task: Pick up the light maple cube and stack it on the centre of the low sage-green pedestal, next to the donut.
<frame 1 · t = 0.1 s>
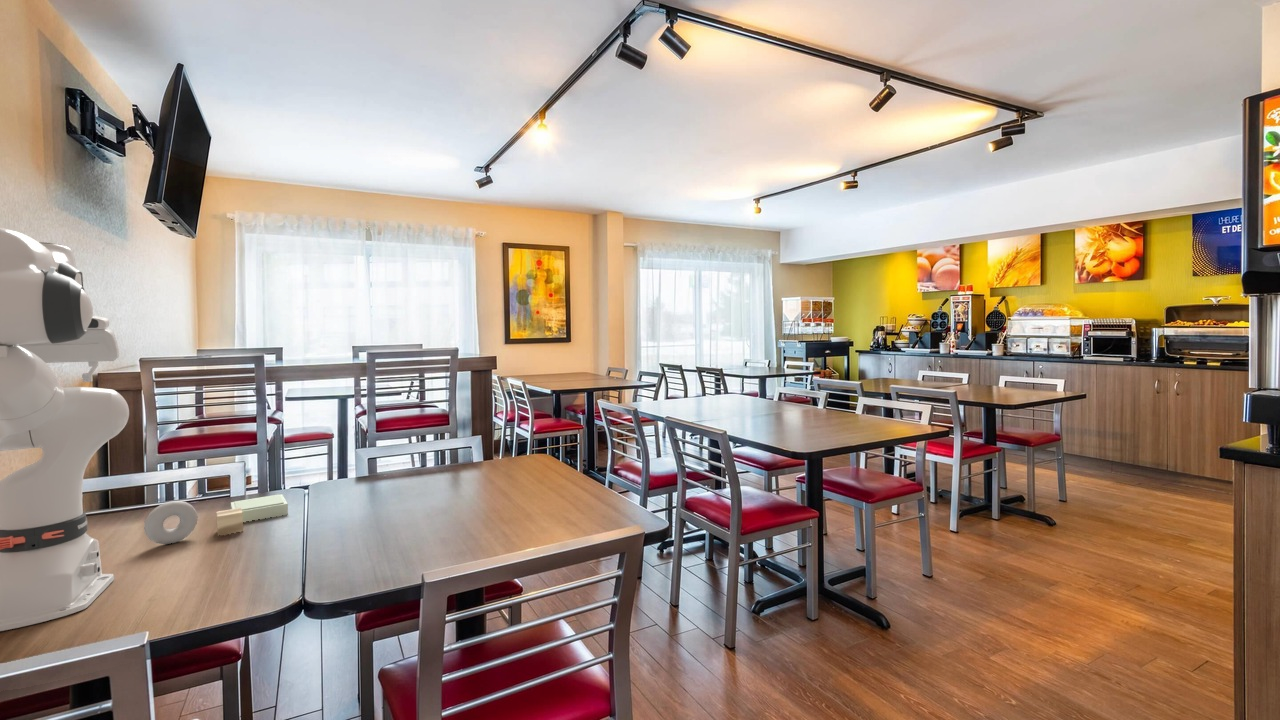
hand: (57, 383, 122), 39 cm above the table, tool pointing down, fingers open, 8 cm apart
pedestal: (259, 513, 153), on the table
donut: (172, 544, 132), on the table
maple cube: (230, 531, 139), on the table
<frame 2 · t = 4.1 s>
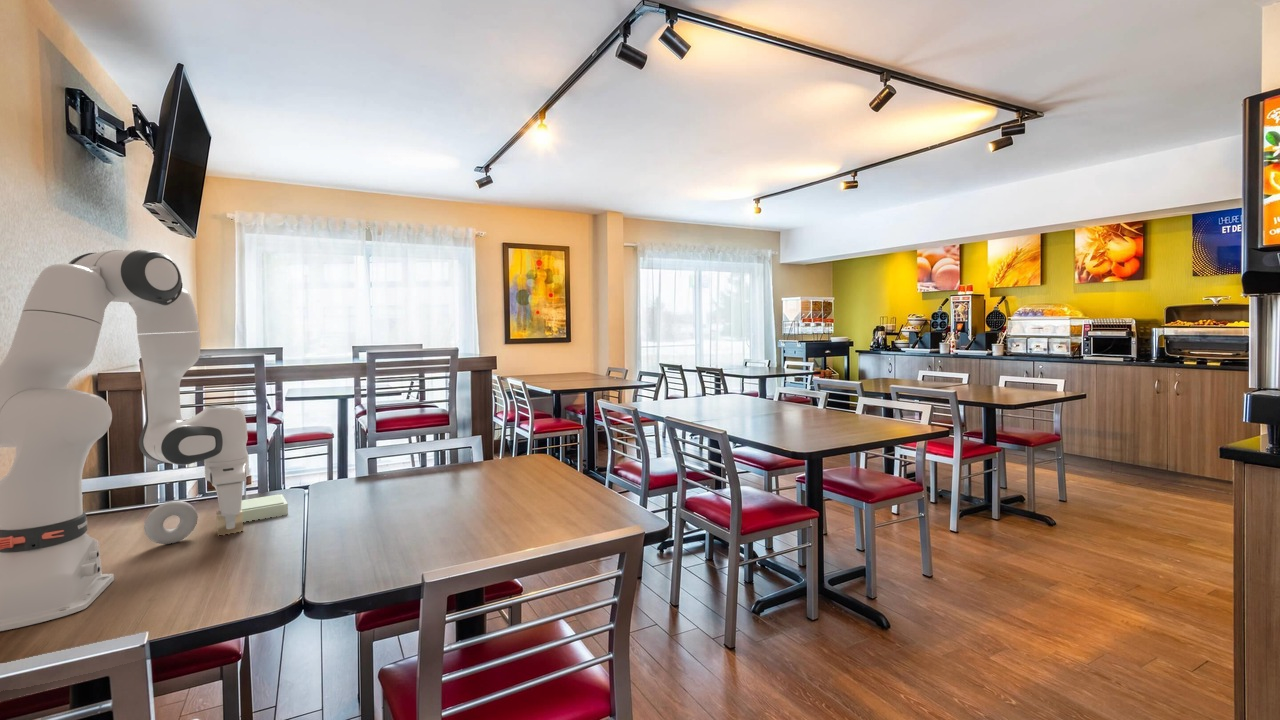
hand: (229, 524, 139), 2 cm above the table, tool pointing down, fingers closed on maple cube, 5 cm apart
maple cube: (230, 531, 139), on the table, touching gripper
everything else where it was.
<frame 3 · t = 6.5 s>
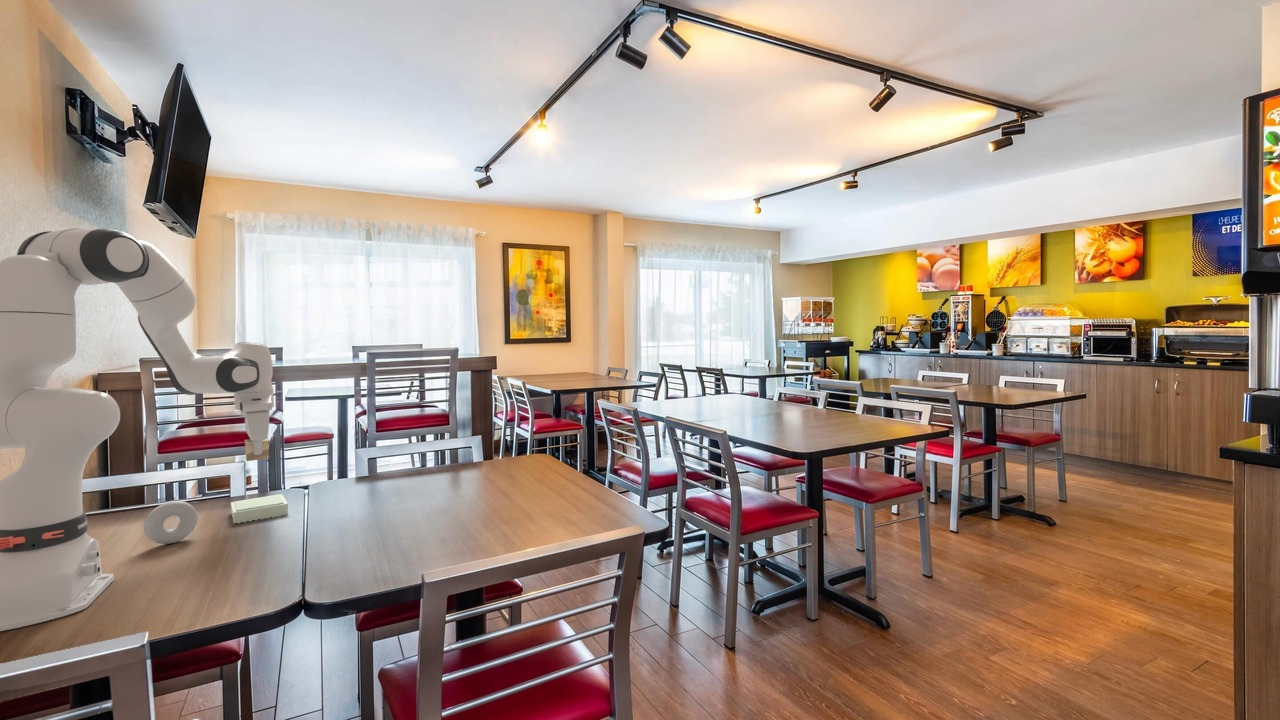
hand: (256, 452, 152), 17 cm above the table, tool pointing down, fingers closed on maple cube, 5 cm apart
maple cube: (257, 458, 153), point 15 cm above the table, touching gripper
everything else where it was.
when the fingers open (6 cm above the table, at t = 8.8 s): maple cube drops 1 cm, resting on pedestal.
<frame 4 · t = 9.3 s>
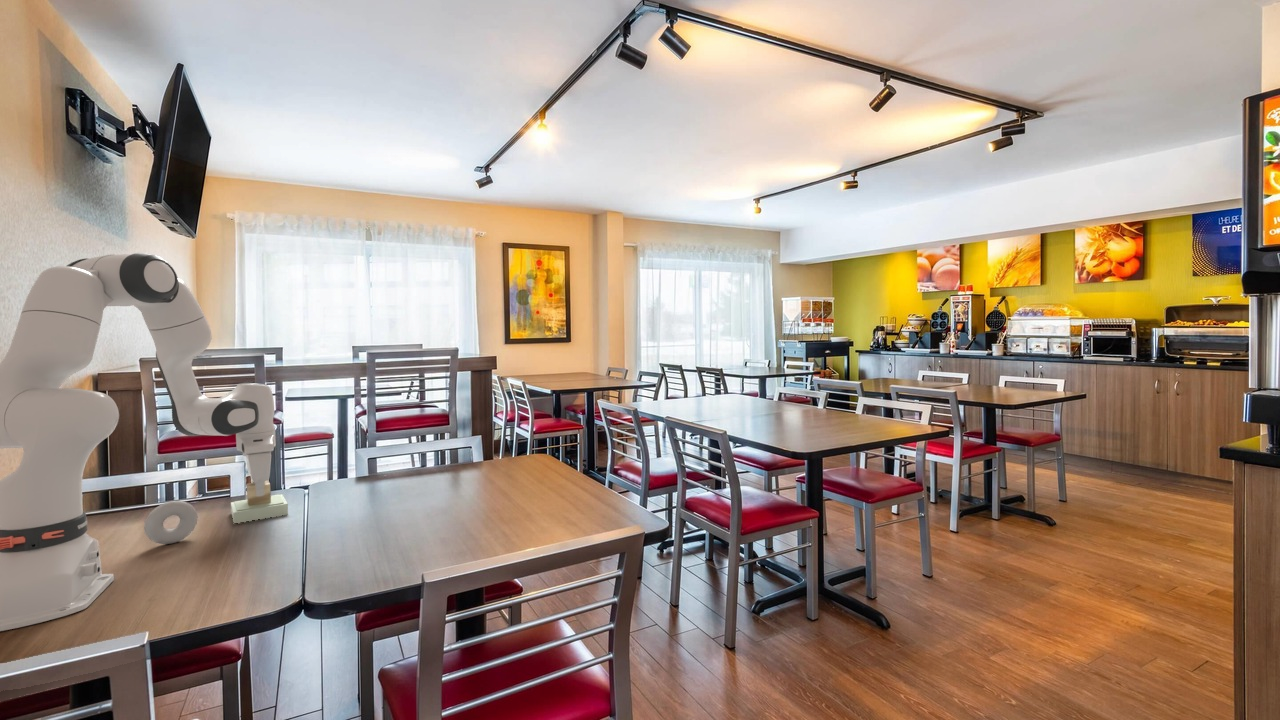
hand: (258, 491, 153), 6 cm above the table, tool pointing down, fingers open, 8 cm apart
maple cube: (259, 502, 153), point 3 cm above the table, touching pedestal
everything else where it was.
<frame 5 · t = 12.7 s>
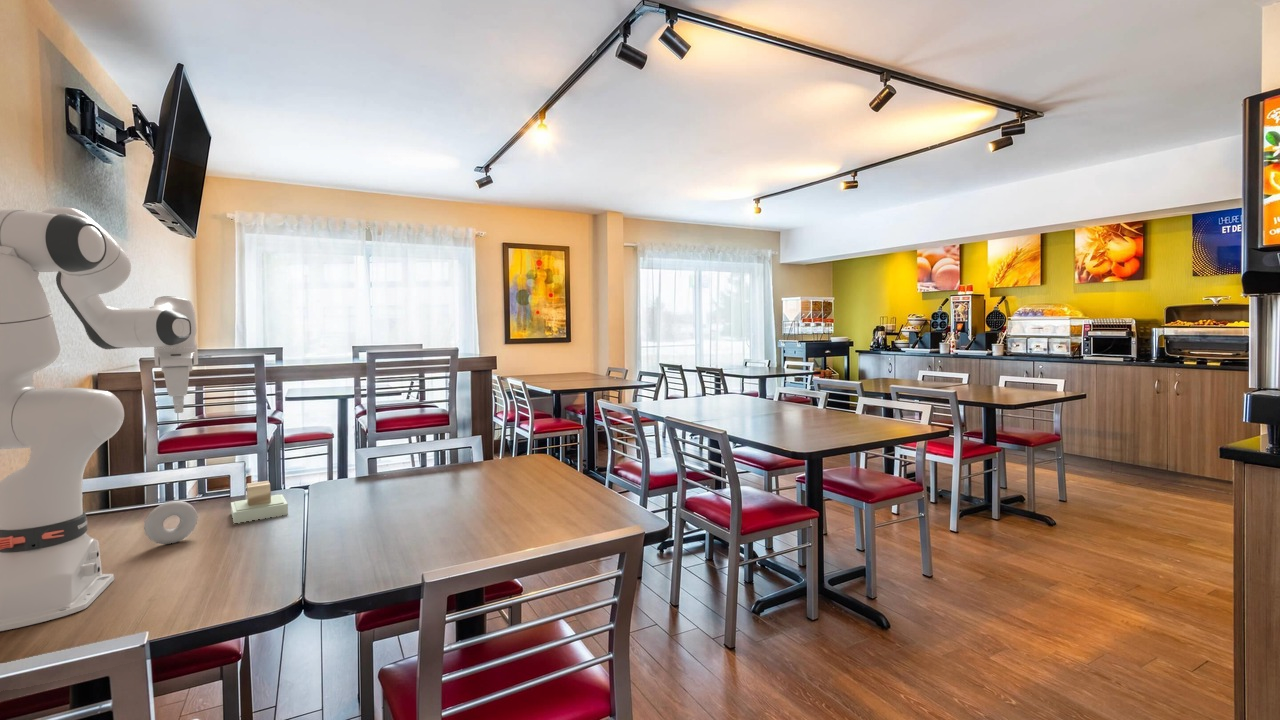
hand: (179, 411, 148), 29 cm above the table, tool pointing down, fingers open, 8 cm apart
nothing on the table moved.
at the end: maple cube inside the target area on the pedestal (0.0 cm from its centre), point 3.3 cm above the pedestal's base; maple cube tilted 0°; the gripper is holding nothing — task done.
